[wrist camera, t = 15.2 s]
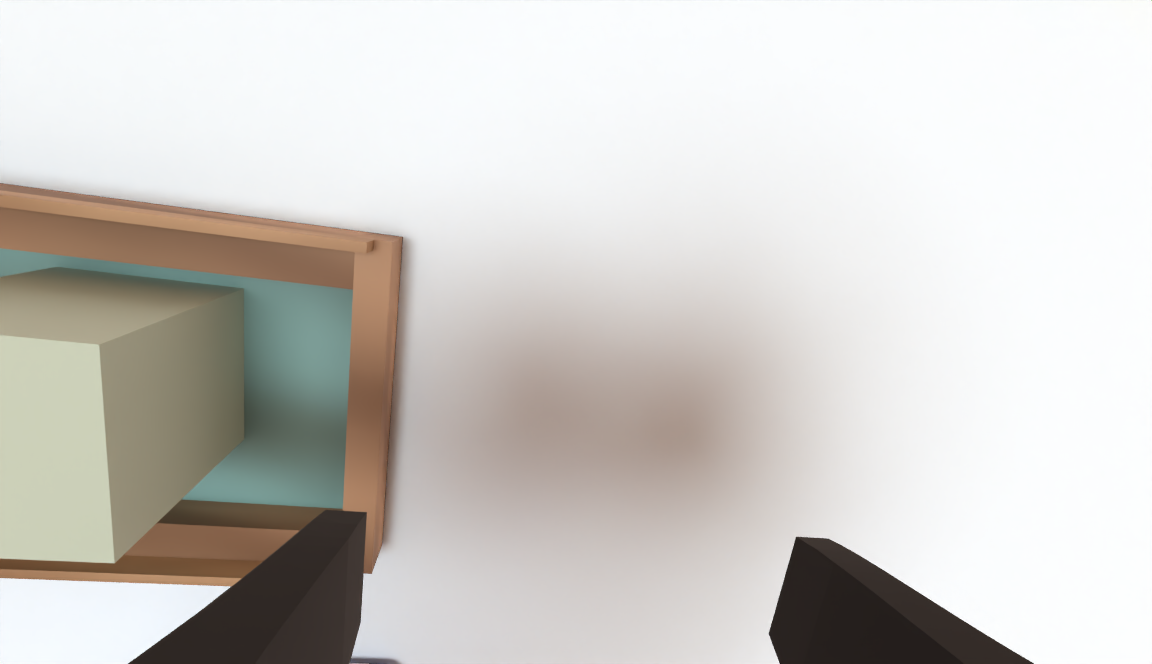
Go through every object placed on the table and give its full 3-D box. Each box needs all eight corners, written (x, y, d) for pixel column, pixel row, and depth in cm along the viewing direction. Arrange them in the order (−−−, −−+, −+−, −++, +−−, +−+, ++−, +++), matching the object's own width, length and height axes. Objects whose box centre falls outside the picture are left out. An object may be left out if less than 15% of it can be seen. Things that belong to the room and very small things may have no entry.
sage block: (244, 438, 18) (114, 563, 12) (70, 425, 17) (-159, 551, 11) (243, 288, 16) (98, 344, 11) (56, 266, 16) (-210, 314, 10)
